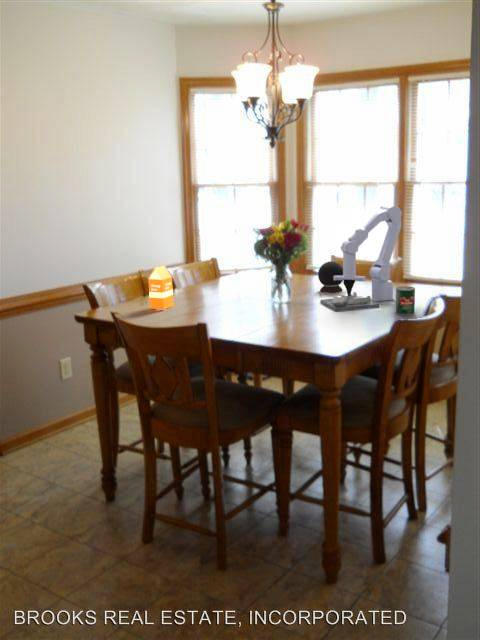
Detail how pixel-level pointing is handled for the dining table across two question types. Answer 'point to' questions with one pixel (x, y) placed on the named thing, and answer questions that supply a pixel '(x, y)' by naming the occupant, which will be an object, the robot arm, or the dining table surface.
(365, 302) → the bolt plate
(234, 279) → the dining table surface
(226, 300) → the dining table surface
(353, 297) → the leg
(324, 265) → the black ball on base
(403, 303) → the canned tomato
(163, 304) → the orange juice
